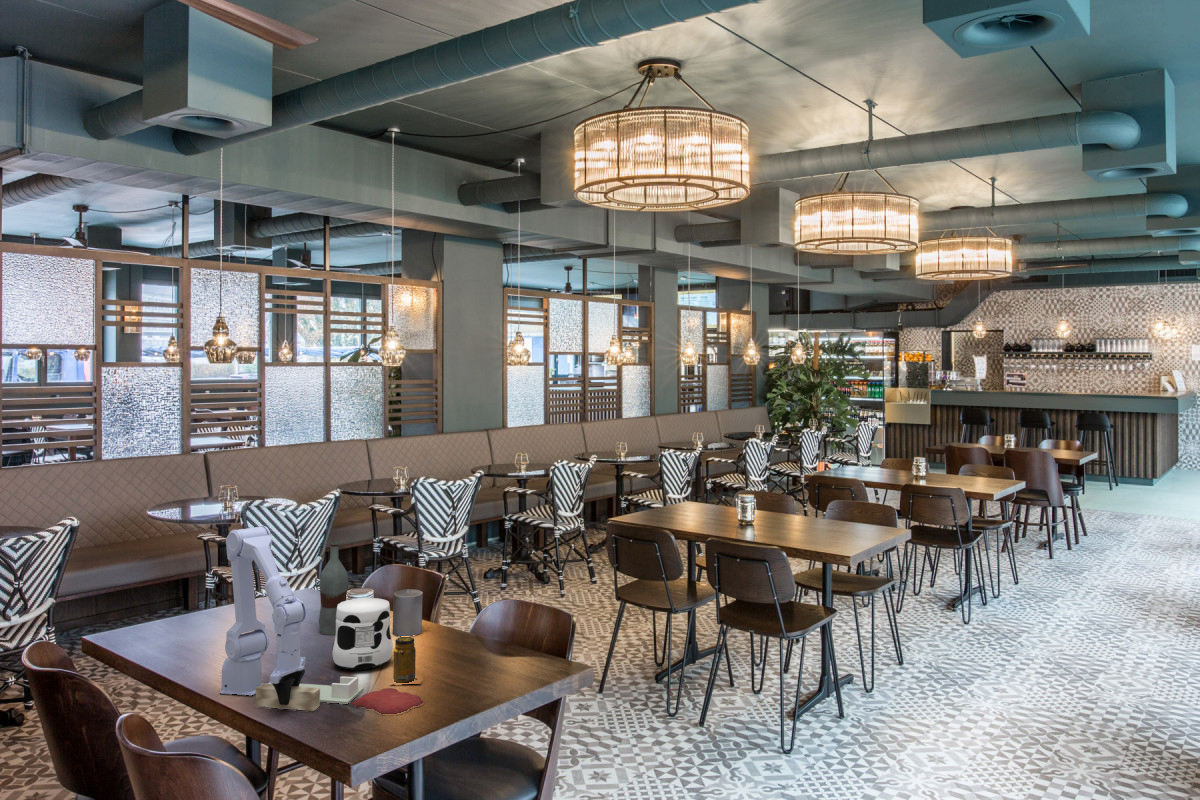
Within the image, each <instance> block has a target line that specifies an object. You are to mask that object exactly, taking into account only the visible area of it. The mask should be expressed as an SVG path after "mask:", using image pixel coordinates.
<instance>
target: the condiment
mask: <svg viewBox="0 0 1200 800" xmlns="http://www.w3.org/2000/svg"><path fill="white" fill-rule="evenodd" d="M394 641H395V642H394V643H395V644H394V647H395V648H394V649H393V667H392V668H393V673H392V674H393V678H392V680H393V679H394V682H396V683H409V682H412V681H414V679H415V676H416V655H417V654H416V653H417V652H416V650H417V649H416V647H415V645H416V644H415V638H414V637H413V636H412V637H397V638H395V640H394Z"/></svg>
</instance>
